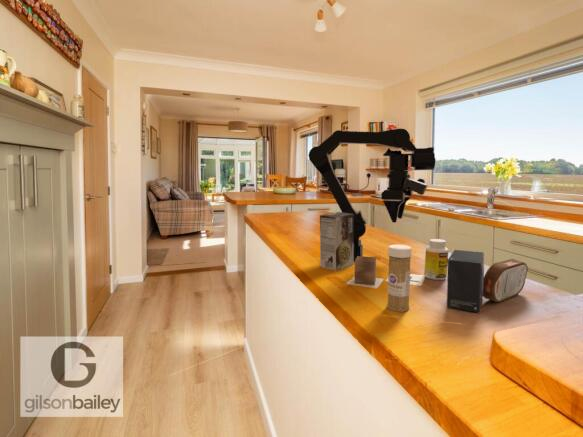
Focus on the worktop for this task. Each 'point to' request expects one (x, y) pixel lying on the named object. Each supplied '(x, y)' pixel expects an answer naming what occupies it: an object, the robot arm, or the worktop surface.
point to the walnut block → (365, 270)
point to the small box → (465, 280)
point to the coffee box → (336, 240)
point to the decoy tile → (377, 283)
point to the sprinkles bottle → (399, 277)
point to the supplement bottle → (436, 260)
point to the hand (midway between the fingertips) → (397, 220)
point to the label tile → (415, 279)
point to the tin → (504, 280)
